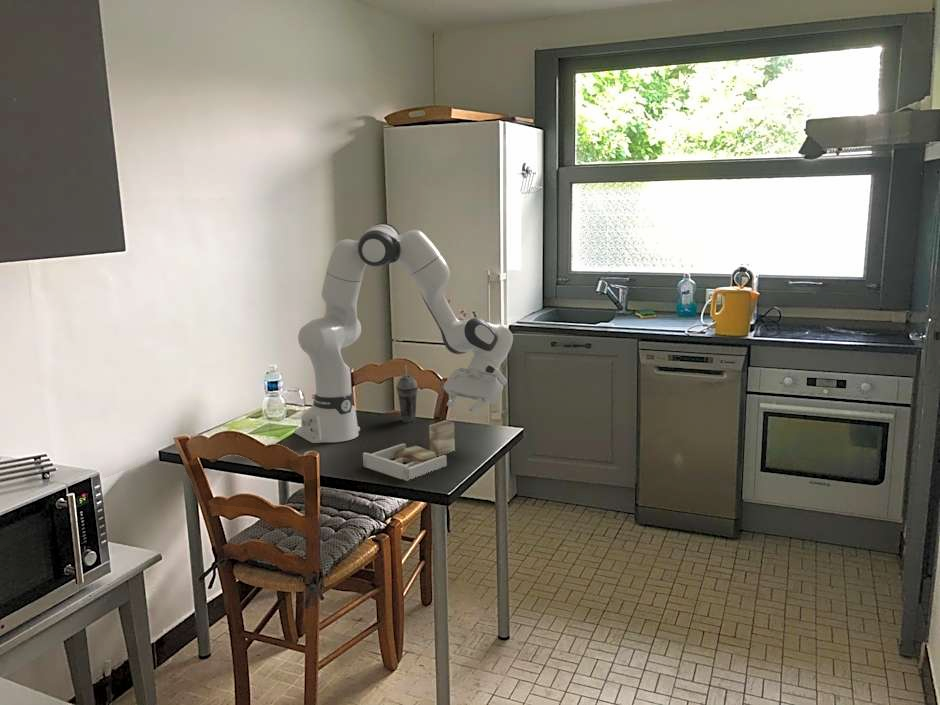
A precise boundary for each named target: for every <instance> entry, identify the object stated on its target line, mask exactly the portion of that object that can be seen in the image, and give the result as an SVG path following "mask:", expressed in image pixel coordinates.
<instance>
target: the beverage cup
mask: <svg viewBox="0 0 940 705" xmlns="http://www.w3.org/2000/svg"><path fill="white" fill-rule="evenodd" d="M404 370H405V375H403V376H402V377H401V378H399V380H398V382H397V385H396V392H397V394H398V400H399V411H400V417H401V422H402V421H403V423H412V421H413V420H415V421H416V413H417V412H416V411H417V397H418V396H417V394H418V389H419V386H418V383H417V380H416V379H415V378H414V377H413V376H411V375H408V371H407V370H408V367H407V363H405V364H404Z"/></svg>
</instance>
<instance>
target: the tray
mask: <svg viewBox="0 0 940 705" xmlns="http://www.w3.org/2000/svg"><path fill="white" fill-rule="evenodd" d="M406 447H407V444H406V443H400V444H397V445H396V444H395V445H394V446H391V447H389V448H388V447H387V448H385V449H381V450H379V451H375V452H373V453H369V452H363V453H362V462H363V463H362V465H363V466H364V468H367V469H369V470H372V471H375V472H378V473H382V474H385V475H387V476H391V477H393V478H396V479H399V480H402V479H403V481H406V482H408V481H411V480H413V479H415V477H416V478H418V476H419V477H421V476H424V475H427V474H429V473H432V472H434V470H435V471H437V470H440V469H442V467H443V468H444V467H447V466H448V462H447V461H448V460H447V455H446V454H445V455H442V456H439V457H436V458H434V459H431V460H428V461H425V462H423V463H420V464H417V465H415V462H411V463H405V464H404V462H403V458H399V459H395V455H396V451H398V450H401V449H404V448H406ZM393 459H394V460H393ZM431 471H432V472H431ZM428 472H429V473H428ZM426 473H427V474H426ZM410 479H411V480H410Z"/></svg>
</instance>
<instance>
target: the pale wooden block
mask: <svg viewBox="0 0 940 705" xmlns="http://www.w3.org/2000/svg"><path fill="white" fill-rule="evenodd" d="M428 426H429V428H428V429H429V430H428V431H429V450H430V451H433V452H435V455H437V456H441V455H444V454H445V455H447V453H448V454H450V452H451V453H453V452H452V451H454V452H455V451H456V444H455V443H456V442H455V441H456V440H455V436H456V435H455V422H454V421H450V420H446V419H445V420H442V421H438V422H435V423H433V424H429V425H428Z"/></svg>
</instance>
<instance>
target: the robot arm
mask: <svg viewBox="0 0 940 705" xmlns="http://www.w3.org/2000/svg"><path fill="white" fill-rule="evenodd" d="M395 262H401V264H403V266H404V267H405V268H406V270H407V271H408V273H409V275H410V276H411V277H412V279H413V280H414V283H415V284H416V286H417V288H418V289H419V292H420V294H421V297H422V299H423V301H424V304H425V306H426V307H427V309H428V311H429V313H430V314H431V316H432V318H433V319H434V321H435V323H436V325H437V327H438V329H439V331H440V333H441V338H442V342H443V345H444V346H445V348H446V349H447V350H448V351H449V352H450V353H452V354H455V355H463V354H466V353H468V352H473V354H474V355H473V357H472V359H471V361H470V363H469V364H468V366H467V368H463V367H459V368H457V369H455V370H454V371H453V372H452V373H451V374H450V375H449V377H448V378H447V379H446V381H445V382H444V384H443V390H444V391H445V393H447V394H448V401H447V402H446V407H448V408H452V409H453V408H454V406H455V405H456V403H455V402H454V400H455V399H456V398H457V397H459V398H464V399H469V400H472V401H473V400H474V401H476V402H475V403H474V404H471V405H470V407H469V410H468V411H470V413H473V414H476V412H477V411H478V409H480V408H481V407H483V406H484V405H485V403H487V404H491V405H494V404H495V403H497V402H498V401H499V399H500V397H501V395H502V393H503V391H504V386H506V384H507V383H508V380H507V378H506V377H505V376H504V375H503V373H502V372H501V371H500V368H501V367H500V366H501V365H502V363H503V362H504V361H505V360H506V358H507V356H508V355H509V352H510V351H511V348H512V345H513V341H514V336H513V333H512V331H511V330H510V329H509V327H507V326H505V325H503V324H501V323H491V322H488V321H486V320H484V319H483V318H480V317H472V318H469V319H468V318H467V319H465V320H463V321H462V320H459V319H458V318H457V316H456V315H455V314H454V312H453V310H452V308H451V306H450V305H449V303H448V301H447V298H446V296H445V290H446V287H447V285H448V284H449V282H450V276H451V271H450V268H449V266H448V263H447V262H446V260H445V258H444V257H443V255H442V254H441V253H440V251H439V249H438V248H437V247H436V245H435V244H434V243H433V242H432V241H431V240H430V239H429V237H428V236H427V235H426V234H425V233H424V232H423V231H421V230H419V229H411V230H407V231H406V232H404V233H402V234H400V233H399V231H398V229H397V228H396V227H395V226H393V225H391V223H385V222H383V223H381V222H380V223H378V224H377V223H376V224H375V225H373V226H371V227H370V228H368V229H367V230H366V231H364V233H363V235H362V236H361V237H360V239H359V240H354V239H351V238H350V239H349V238H348V239H347V238H346V239H341V240H339V241H338V242H337V243H336V244H335V246H334V248H333V250H332V252H331V255H330V257H329V260H328V263H327V264H328V265H327V267H326V272H325V277H324V281H323V285H322V290H321V297H322V298H321V299H323V301H324V302H325V313H324V316H323V317H319V318H315V319H312V320H311V321H309V322H307V323H306V324H305V325H303V326H302V327H301V328H300V330H299V332H298V336H297V340H298V344H299V347H300V348H301V350H302V351H303V352H305V354H307V355H308V357H309V359H310V362H311V364H312V367H313V370H314V380H315V392H316V393H315V394H312V395H311V396H312V397H311V399H313V403H312V405H311V407H309V408H308V409H306V411H305V412H304V413H303V414H302V415H301V419H300V421H301V422H300V424H301V425H300V426H299V427H296V428H295V429H294V431H293V432H294V434H295V435H298V436H299V437H301V438H303V439H304V440H306V441H308V442H310V443H312V444H321V443H341V442H342V443H343V442H347V441H350V440H353V439H356V438H357V437H358V436H359V435H360V433H359V432H360V431H361V427H360V426H358V425H359V424H358V419H357V418H358V417H357V410H356V408H355V406H354V405H353V404H354V402H355V401H354V397H355V396H354V393H353V391H352V377H351V376H352V374H351V373H352V372H351V368H350V367H349V365H348V364H346V363H345V362H344V360H343V356H342V351H341V350H342V349H343V348H346V347H349V346H351V345H353V343H355V342H356V341H357V340H358V339H359V338H360V336H361V334H362V325H361V322H360V319H358V313H357V312H358V311H357V310H358V309H357V305H358V299H359V294H360V291H361V290H360V289H361V286H362V281H363V277H364V273H365V270H366V266H367V265H368V266H371V267H382V266H385V265H386V266H387V265H389V264H393V263H395Z"/></svg>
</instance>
